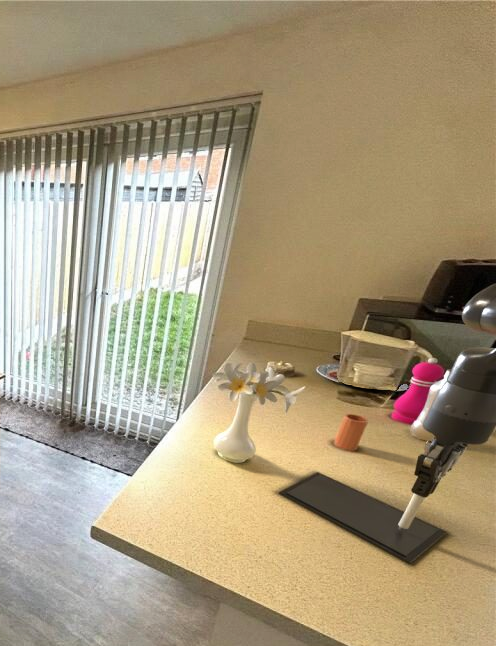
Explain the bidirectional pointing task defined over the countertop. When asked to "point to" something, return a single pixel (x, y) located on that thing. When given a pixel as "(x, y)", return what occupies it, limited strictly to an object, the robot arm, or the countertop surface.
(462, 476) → the countertop surface
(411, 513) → the stylus
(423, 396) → the pepper mill
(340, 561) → the countertop surface
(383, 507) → the tablet
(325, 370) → the ceramic plate
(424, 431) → the plastic bottle
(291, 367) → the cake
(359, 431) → the pen cup
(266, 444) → the countertop surface
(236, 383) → the flower vase
